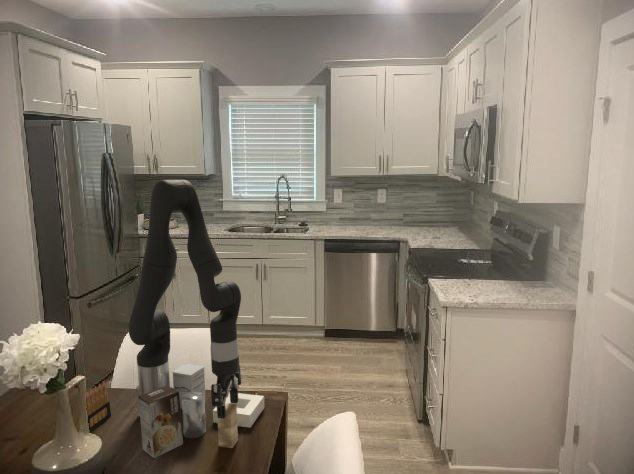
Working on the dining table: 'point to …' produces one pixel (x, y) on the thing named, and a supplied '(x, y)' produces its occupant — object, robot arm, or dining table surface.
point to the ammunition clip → (97, 406)
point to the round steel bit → (193, 415)
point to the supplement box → (189, 380)
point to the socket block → (245, 409)
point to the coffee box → (160, 420)
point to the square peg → (228, 427)
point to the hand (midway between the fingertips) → (228, 409)
